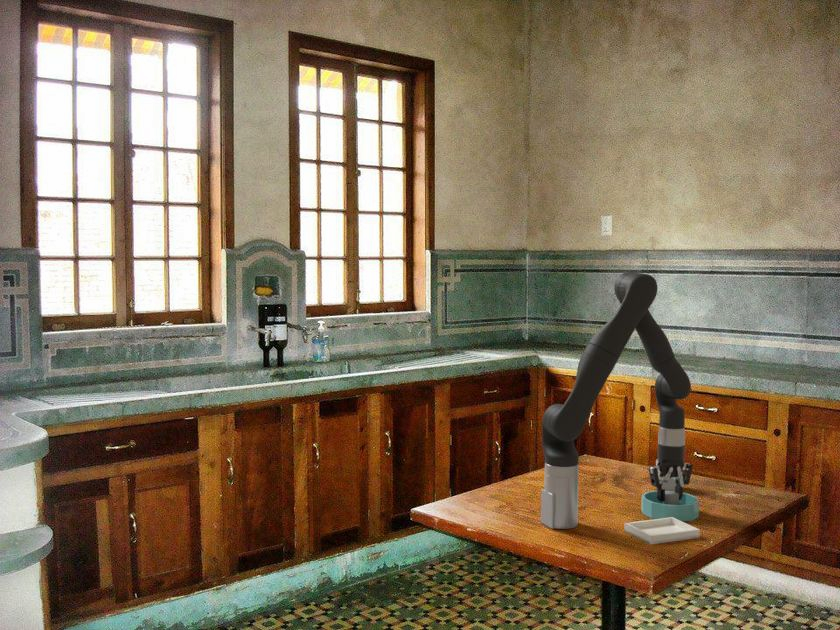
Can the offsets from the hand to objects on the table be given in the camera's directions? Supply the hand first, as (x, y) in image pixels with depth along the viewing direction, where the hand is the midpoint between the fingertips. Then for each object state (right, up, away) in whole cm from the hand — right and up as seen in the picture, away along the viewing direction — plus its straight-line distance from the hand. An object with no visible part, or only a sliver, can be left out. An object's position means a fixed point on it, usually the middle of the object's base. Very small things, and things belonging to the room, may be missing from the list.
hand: (669, 499), depth 250 cm
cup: (+6, -2, +26) cm, 27 cm away
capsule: (0, -3, 0) cm, 3 cm away
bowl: (0, -4, 0) cm, 4 cm away
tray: (-8, -5, -19) cm, 21 cm away
